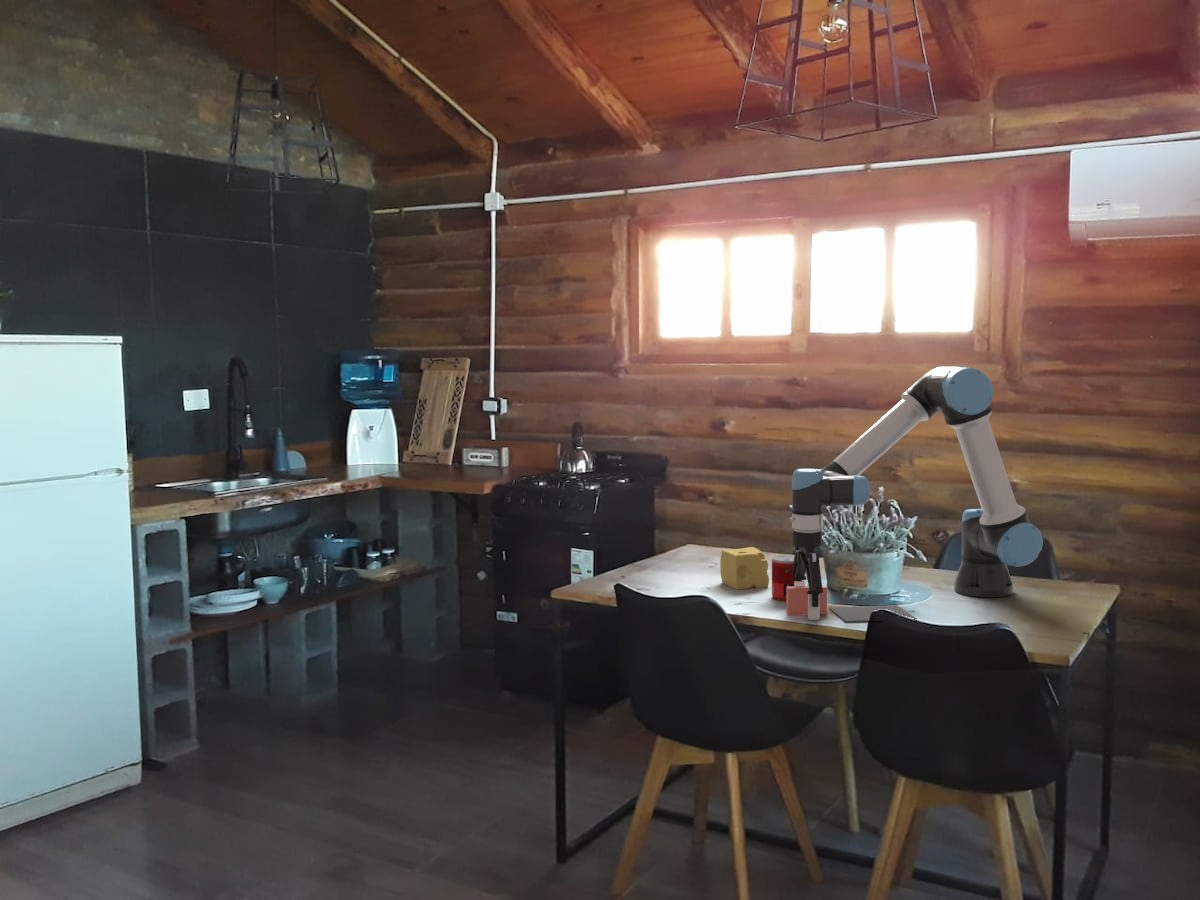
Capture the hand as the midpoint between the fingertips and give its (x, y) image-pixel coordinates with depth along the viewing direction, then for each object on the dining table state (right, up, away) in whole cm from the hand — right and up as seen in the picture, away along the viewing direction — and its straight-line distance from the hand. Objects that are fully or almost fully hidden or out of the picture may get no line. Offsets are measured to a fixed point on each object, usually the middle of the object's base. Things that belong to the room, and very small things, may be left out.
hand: (806, 612), depth 268 cm
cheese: (-11, +2, +33) cm, 35 cm away
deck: (0, 0, 0) cm, 0 cm away
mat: (+16, 0, -2) cm, 16 cm away
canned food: (-2, +1, +17) cm, 17 cm away
